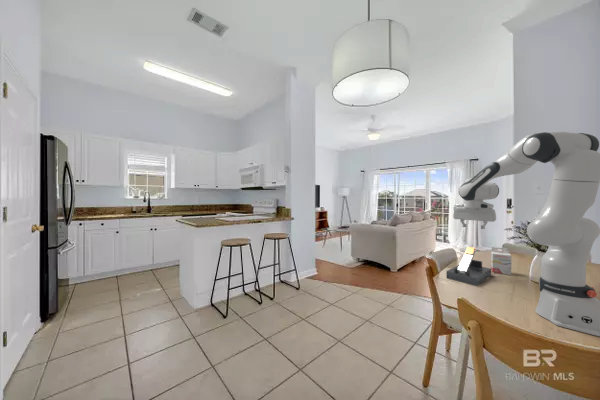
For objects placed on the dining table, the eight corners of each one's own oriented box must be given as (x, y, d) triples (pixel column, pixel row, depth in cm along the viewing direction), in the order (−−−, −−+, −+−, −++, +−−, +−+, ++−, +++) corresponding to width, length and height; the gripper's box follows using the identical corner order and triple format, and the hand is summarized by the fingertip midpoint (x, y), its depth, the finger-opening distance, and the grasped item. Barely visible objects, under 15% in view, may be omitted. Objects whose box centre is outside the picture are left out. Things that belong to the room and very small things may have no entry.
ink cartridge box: (492, 272, 133) (492, 248, 133) (491, 270, 138) (490, 246, 137) (511, 275, 129) (511, 250, 128) (509, 272, 133) (509, 248, 133)
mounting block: (491, 275, 129) (491, 262, 129) (476, 285, 115) (476, 271, 115) (463, 269, 141) (463, 257, 140) (446, 278, 127) (446, 265, 127)
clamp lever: (476, 250, 129) (475, 247, 128) (465, 275, 120) (465, 272, 119) (468, 248, 132) (467, 246, 132) (457, 273, 123) (456, 270, 123)
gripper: (451, 204, 138) (451, 226, 139) (493, 205, 121) (493, 230, 122) (455, 204, 142) (455, 225, 142) (497, 205, 125) (497, 229, 126)
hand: (473, 227), depth 132 cm, fingers open, 8 cm apart
